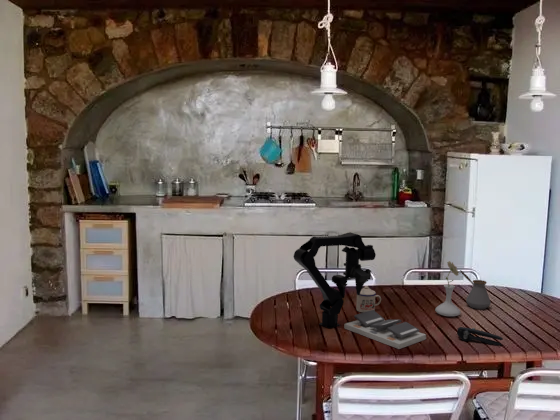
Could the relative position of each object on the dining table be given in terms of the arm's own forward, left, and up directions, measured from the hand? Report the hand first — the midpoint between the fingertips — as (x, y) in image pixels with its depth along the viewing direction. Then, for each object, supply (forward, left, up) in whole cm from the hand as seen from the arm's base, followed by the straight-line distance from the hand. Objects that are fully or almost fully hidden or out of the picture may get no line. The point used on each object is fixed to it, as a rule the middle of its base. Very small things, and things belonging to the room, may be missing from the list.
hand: (350, 296), depth 239 cm
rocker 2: (+2, -19, -8) cm, 20 cm away
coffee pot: (+70, -18, -12) cm, 73 cm away
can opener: (+25, -48, -12) cm, 55 cm away
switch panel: (+2, -19, -12) cm, 22 cm away
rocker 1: (+2, -10, -8) cm, 12 cm away
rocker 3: (+2, -28, -8) cm, 29 cm away
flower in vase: (+46, -20, -12) cm, 51 cm away
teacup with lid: (+20, +6, -12) cm, 24 cm away
